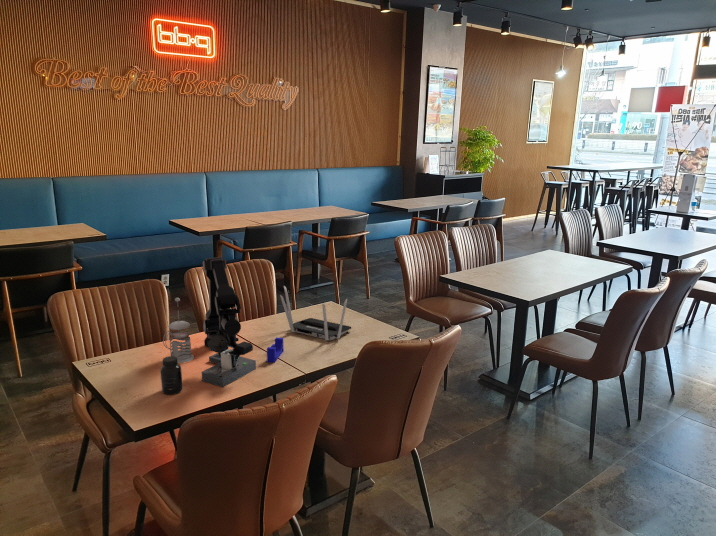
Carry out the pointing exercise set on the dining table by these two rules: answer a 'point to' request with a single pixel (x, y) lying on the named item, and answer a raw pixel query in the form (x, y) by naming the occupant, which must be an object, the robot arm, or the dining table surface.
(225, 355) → the plug
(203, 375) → the port panel
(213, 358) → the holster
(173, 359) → the supplement bottle
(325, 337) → the wireless router
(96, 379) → the dining table surface
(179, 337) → the french press
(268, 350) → the cable clip
